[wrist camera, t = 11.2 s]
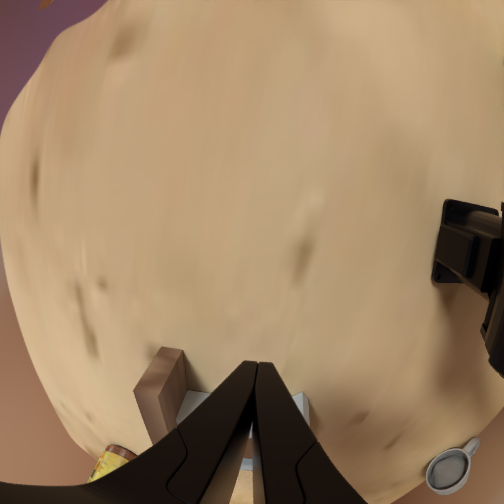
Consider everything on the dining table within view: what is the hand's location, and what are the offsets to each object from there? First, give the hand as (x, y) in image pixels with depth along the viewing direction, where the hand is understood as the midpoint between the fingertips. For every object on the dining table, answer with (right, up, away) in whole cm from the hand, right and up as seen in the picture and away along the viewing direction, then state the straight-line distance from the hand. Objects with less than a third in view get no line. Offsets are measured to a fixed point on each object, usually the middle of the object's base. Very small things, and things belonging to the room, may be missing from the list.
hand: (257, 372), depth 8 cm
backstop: (-7, -13, +17) cm, 23 cm away
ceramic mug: (+32, -29, +18) cm, 47 cm away
